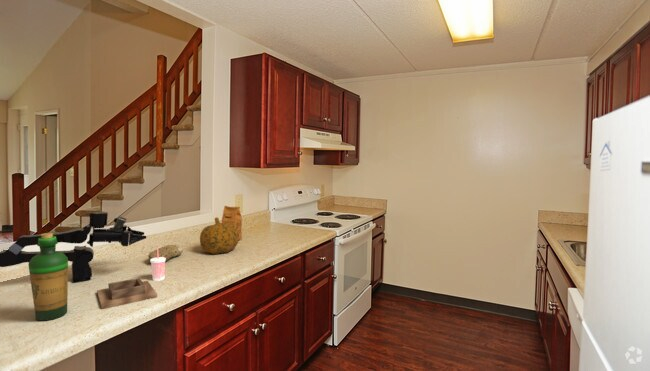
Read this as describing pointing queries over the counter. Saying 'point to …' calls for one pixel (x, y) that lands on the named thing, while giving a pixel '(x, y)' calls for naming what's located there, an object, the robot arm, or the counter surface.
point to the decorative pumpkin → (219, 238)
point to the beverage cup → (158, 267)
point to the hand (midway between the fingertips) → (145, 235)
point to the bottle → (49, 279)
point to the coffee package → (233, 218)
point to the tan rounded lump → (166, 252)
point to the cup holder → (125, 293)
